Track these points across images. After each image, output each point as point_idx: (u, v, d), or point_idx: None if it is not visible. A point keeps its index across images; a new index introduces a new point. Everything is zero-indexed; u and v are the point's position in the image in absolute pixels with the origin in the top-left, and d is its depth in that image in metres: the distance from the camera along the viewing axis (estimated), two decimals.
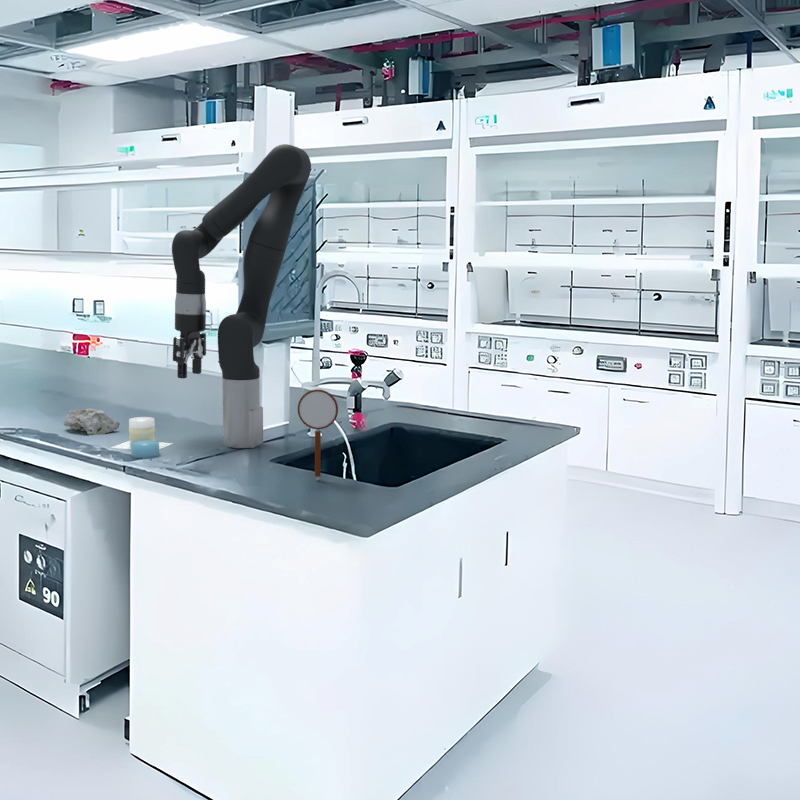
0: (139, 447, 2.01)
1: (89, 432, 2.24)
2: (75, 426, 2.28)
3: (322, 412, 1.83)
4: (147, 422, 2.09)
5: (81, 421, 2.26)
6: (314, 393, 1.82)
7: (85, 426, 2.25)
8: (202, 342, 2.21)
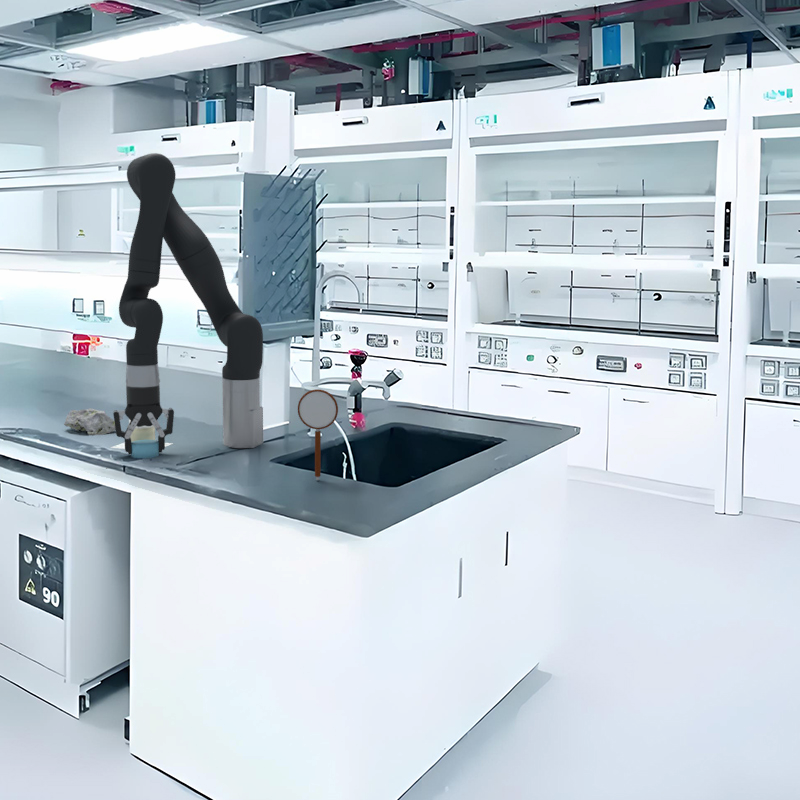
0: (139, 447, 2.01)
1: (90, 432, 2.24)
2: (76, 426, 2.28)
3: (322, 412, 1.83)
4: None
5: (82, 421, 2.26)
6: (314, 393, 1.82)
7: (86, 426, 2.25)
8: None
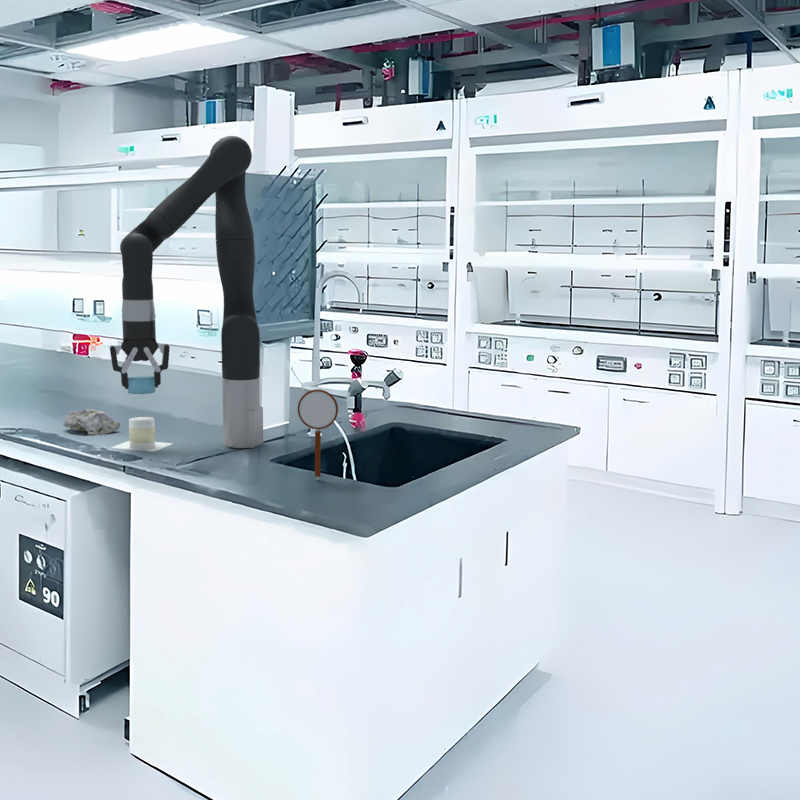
0: (135, 381, 2.04)
1: (90, 433, 2.24)
2: (75, 427, 2.28)
3: (322, 412, 1.83)
4: (147, 422, 2.09)
5: (82, 422, 2.25)
6: (314, 393, 1.82)
7: (86, 427, 2.25)
8: None
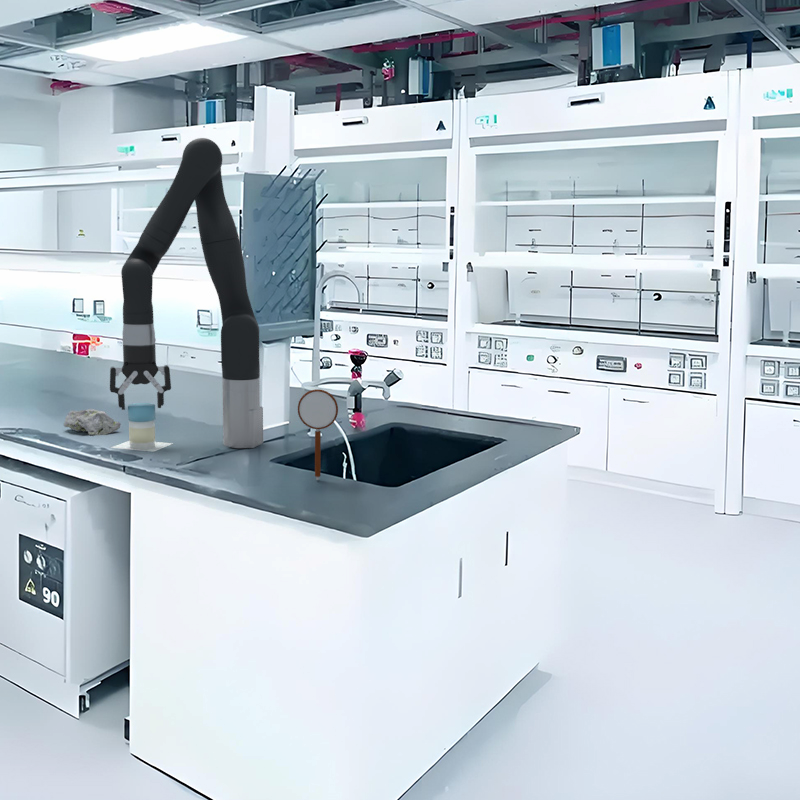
0: (136, 409, 2.07)
1: (91, 433, 2.24)
2: (76, 427, 2.27)
3: (322, 412, 1.83)
4: (147, 422, 2.09)
5: (82, 422, 2.25)
6: (314, 393, 1.82)
7: (86, 427, 2.25)
8: None
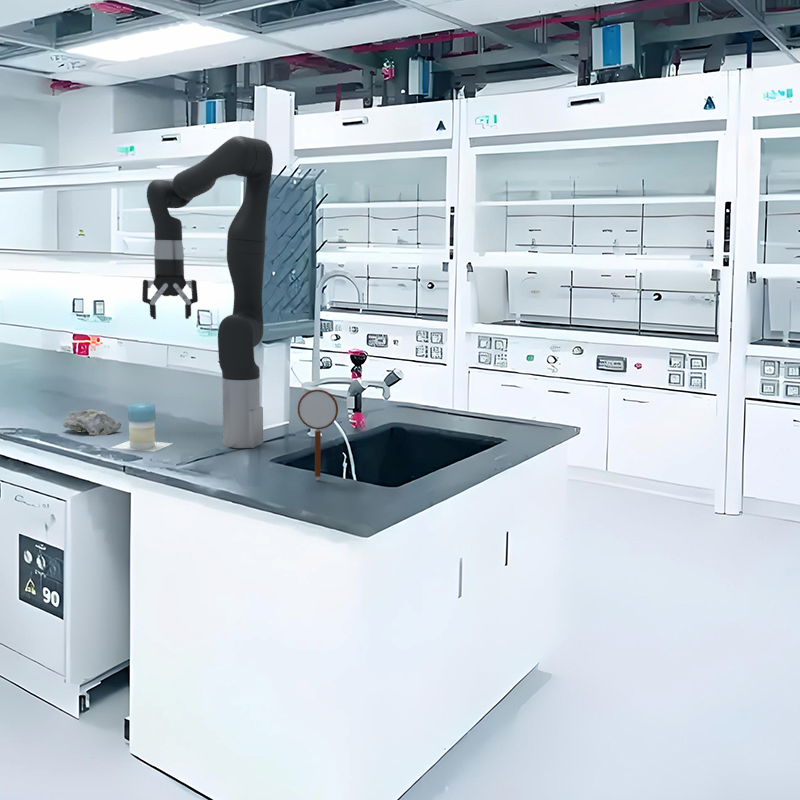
0: (136, 409, 2.07)
1: (92, 433, 2.23)
2: (76, 427, 2.27)
3: (322, 412, 1.83)
4: (147, 422, 2.09)
5: (83, 422, 2.25)
6: (314, 393, 1.82)
7: (87, 427, 2.24)
8: None
